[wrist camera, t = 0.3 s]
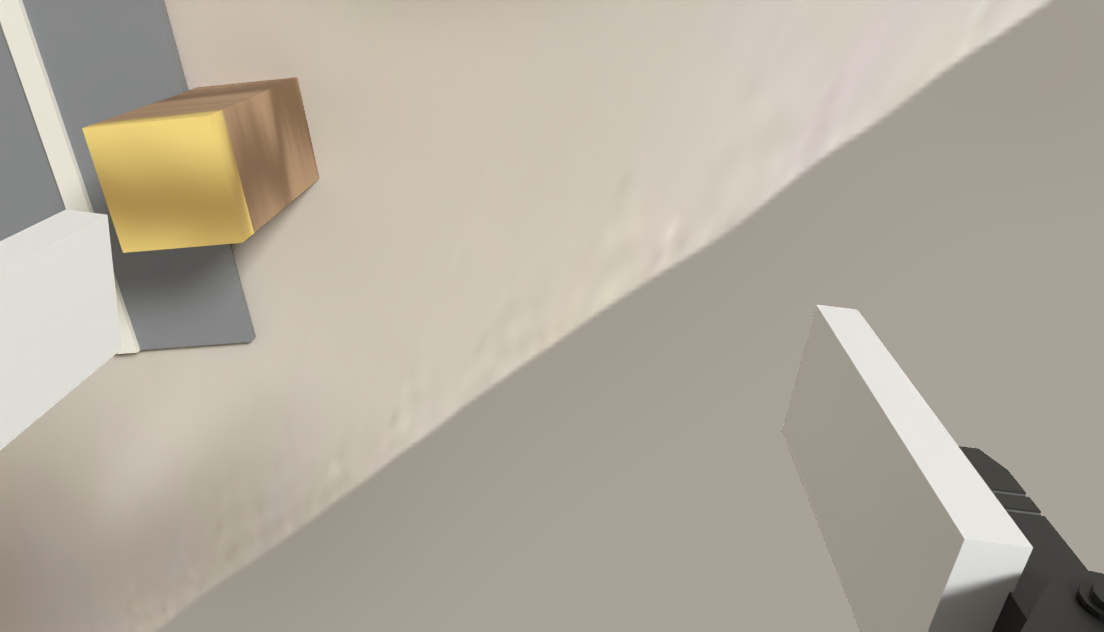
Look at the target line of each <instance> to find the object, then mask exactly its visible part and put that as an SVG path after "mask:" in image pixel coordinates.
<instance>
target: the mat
mask: <svg viewBox="0 0 1104 632" xmlns="http://www.w3.org/2000/svg"><path fill="white" fill-rule="evenodd" d="M186 91H188V87H187V84H186V80H185V76H184V73H183V69H182V65H181V62H180V58H179V54H178V51H177V47H176V43H175V40H174V36H173V32H172V29H171V25H170V21H169V18H168V14H167V10H166V7H165V3H164V0H0V241H2V240H4V239H6V238H8V237H10V236H12V235H14V234H16V233H18V232H20V231H23V230H25V229H27V228H29V227H31V226H33V225H35V224H37V223H39V222H41V221H43V220H45V219H47V218H49V217H51V216H53V215H55V214H58V213H60V212H62V211H64V210H66V209H67V210H74V211H82V212H90V213H98V214H106V215H108V224H109V233H110V243H111V252H112V262H113V271H114V280H115V290H116V299H117V308H118V318H119V327H120V336H121V346H122V349H121V350H119V351H118V352H117V354H126V353H138V352H139V351H140V350H150V349H163V348H177V347H191V346H204V345H218V344H231V343H245V342H252V341H253V340H254V339H255V338H256V336H255V333H254V329H253V326H252V322H251V318H250V315H249V311H248V307H247V304H246V300H245V296H244V293H243V289H242V285H241V282H240V278H239V274H238V271H237V267H236V263H235V260H234V256H233V252H232V249H231V245H230V244H222V245H210V246H198V247H186V248H174V249H163V250H151V251H139V252H127V253H123V251H122V248H121V245H120V242H119V239H118V236H117V233H116V230H115V227H114V224H113V221H112V218H111V215H110V212H109V209H108V206H107V203H106V200H105V197H104V193H103V190H102V187H101V184H100V181H99V178H98V175H97V172H96V169H95V166H94V163H93V160H92V157H91V154H90V151H89V148H88V145H87V142H86V139H85V136H84V133H83V130H82V128H84V127H87V126H90V125H92V124H95V123H98V122H101V121H104V120H107V119H110V118H112V117H115V116H118V115H121V114H124V113H127V112H130V111H132V110H135V109H138V108H141V107H144V106H147V105H149V104H152V103H155V102H158V101H161V100H164V99H167V98H169V97H172V96H175V95H178V94H181V93H184V92H186Z"/></svg>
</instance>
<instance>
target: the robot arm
mask: <svg viewBox="0 0 1104 632" xmlns="http://www.w3.org/2000/svg"><path fill="white" fill-rule="evenodd" d="M121 349H122V346H121V336H120V327H119V318H118V308H117V299H116V290H115V280H114V271H113V262H112V252H111V243H110V233H109V224H108V215H106V214H98V213H90V212H82V211H74V210H67V209H66V210H64V211H62V212H60V213H58V214H55V215H53V216H51V217H49V218H47V219H45V220H43V221H41V222H39V223H37V224H35V225H33V226H31V227H29V228H27V229H25V230H23V231H20V232H18V233H16V234H14V235H12V236H10V237H8V238H6V239H4V240H2V241H0V450H1V449H2V448H4V447H5V446H6V445H7V444H8V443H10V442H11V441H12V440H13V439H14V438H16V437H17V436H18V435H19V434H20V433H22V432H23V431H24V430H25V429H26V428H28V427H29V426H30V425H31V424H32V423H34V422H35V421H36V420H37V419H38V418H40V417H41V416H42V415H43V414H44V413H45V412H47V411H48V410H49V409H50V408H51V407H53V406H54V405H55V404H56V403H57V402H59V401H60V400H61V399H62V398H63V397H65V396H66V395H67V394H68V393H69V392H71V391H72V390H73V389H74V388H75V387H77V386H78V385H79V384H80V383H81V382H82V381H84V380H85V379H86V378H87V377H88V376H90V375H91V374H92V373H93V372H94V371H96V370H97V369H98V368H99V367H100V366H102V365H103V364H104V363H105V362H106V361H108V360H109V359H110V358H111V357H112V356H114V355H115V354H116V353H117V352H118V351H119V350H121ZM782 433H783V436H784V438H785V441H786V444H787V446H788V449H789V451H790V454H791V456H792V459H793V461H794V464H795V466H796V469H797V471H798V474H799V477H800V479H801V482H802V484H803V487H804V489H805V492H806V494H807V497H808V500H809V502H810V505H811V507H812V510H813V512H814V515H815V517H816V520H817V522H818V525H819V528H820V530H821V533H822V535H823V538H824V540H825V542H826V545H827V548H828V550H829V553H830V556H831V558H832V561H833V563H834V566H835V568H836V571H837V573H838V576H839V578H840V581H841V583H842V586H843V589H844V591H845V594H846V596H847V599H848V601H849V604H850V606H851V609H852V612H853V614H854V617H855V619H856V622H857V624H858V627H859V629H860V632H1104V574H1102V573H1097V572H1092V571H1088V570H1087V569H1086V567H1085V566H1084V565H1083V564H1082V562H1081V561H1080V560H1079V559H1078V557H1077V556H1076V555H1075V554H1074V553H1073V551H1072V550H1071V549H1070V547H1069V546H1068V545H1067V544H1066V542H1065V541H1064V540H1063V539H1062V537H1061V536H1060V535H1059V534H1058V532H1057V531H1056V530H1055V529H1054V527H1053V526H1052V525H1051V524H1050V522H1049V521H1048V520H1047V519H1046V517H1045V516H1041V515H1040V513H1041V511H1040V510H1039V509H1038V508H1037V506H1036V505H1035V504H1034V502H1033V501H1032V500H1031V499H1030V498H1029V497H1026V496H1025V494H1026V492H1025V491H1024V490H1023V489H1022V487H1021V486H1020V485H1019V484H1018V482H1017V481H1016V480H1015V479H1014V477H1013V476H1012V475H1011V474H1010V472H1009V471H1008V470H1007V469H1005V468H1004V467H1003V466H1001V465H1000V464H999V463H997V462H996V461H994V460H993V459H992V458H990V457H989V456H988V455H986V454H984V452H982V451H981V450H979V449H976V448H967V447H960V446H958V445H957V444H956V442H955V441H954V440H953V438H952V437H951V436H950V434H949V433H948V432H947V430H946V429H945V428H944V426H943V425H942V424H941V422H940V421H939V420H938V418H937V417H936V415H935V414H934V413H933V411H932V410H931V409H930V407H929V406H928V405H927V403H926V402H925V401H924V399H923V398H922V397H921V395H920V394H919V392H918V391H917V390H916V388H915V387H914V386H913V384H912V383H911V382H910V380H909V379H908V378H907V376H906V375H905V373H904V372H903V371H902V369H901V368H900V367H899V365H898V364H897V363H896V361H895V360H894V359H893V357H892V356H891V355H890V353H889V352H888V350H887V349H886V348H885V346H884V345H883V344H882V342H881V341H880V340H879V338H878V337H877V336H876V335H875V333H874V332H873V330H872V329H871V327H870V326H869V325H868V323H867V322H866V321H865V319H864V318H863V317H862V315H861V314H860V313H859V311H858V310H855V309H847V308H839V307H831V306H823V305H816V308H815V311H814V315H813V319H812V323H811V326H810V330H809V334H808V338H807V341H806V345H805V348H804V352H803V356H802V360H801V363H800V367H799V370H798V374H797V378H796V382H795V386H794V389H793V393H792V396H791V400H790V404H789V407H788V412H787V415H786V419H785V422H784V426H783V430H782Z"/></svg>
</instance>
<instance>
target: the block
mask: <svg viewBox="0 0 1104 632" xmlns="http://www.w3.org/2000/svg"><path fill="white" fill-rule="evenodd" d="M82 130H83V133H84V136H85V139H86V142H87V145H88V148H89V151H90V154H91V157H92V160H93V163H94V166H95V169H96V172H97V175H98V178H99V181H100V184H101V187H102V190H103V193H104V197H105V200H106V203H107V206H108V209H109V212H110V215H111V218H112V221H113V224H114V227H115V230H116V233H117V236H118V239H119V242H120V245H121V248H122V251H123V253H127V252H139V251H151V250H163V249H174V248H186V247H198V246H210V245H222V244H234V243H243V242H244V241H245V240H247V239H248V238H249V237H250V236H251V235H253V234H254V233H255V232H256V231H257V230H259V229H260V228H261V227H262V226H263V225H265V224H266V223H267V222H268V221H269V220H271V219H272V218H273V217H274V216H275V215H276V214H278V213H279V212H280V211H281V210H282V209H284V208H285V207H286V206H287V205H288V204H290V203H291V202H292V201H293V200H294V199H296V198H297V197H298V196H299V195H300V194H302V193H303V192H304V191H305V190H306V189H307V188H309V187H310V186H311V185H312V184H313V183H315V182H316V181H317V180H318V179H319V175H318V170H317V166H316V161H315V156H314V152H313V147H312V143H311V138H310V134H309V129H308V124H307V120H306V115H305V111H304V106H303V102H302V97H301V93H300V88H299V83H298V79H297V78H287V79H277V80H267V81H257V82H247V83H237V84H227V85H217V86H207V87H198V88H195V89H192V90H189V91H186V92H184V93H181V94H178V95H175V96H172V97H169V98H167V99H164V100H161V101H158V102H155V103H152V104H149V105H147V106H144V107H141V108H138V109H135V110H132V111H130V112H127V113H124V114H121V115H118V116H115V117H112V118H110V119H107V120H104V121H101V122H98V123H95V124H92V125H90V126H87V127H84V128H82Z"/></svg>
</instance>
